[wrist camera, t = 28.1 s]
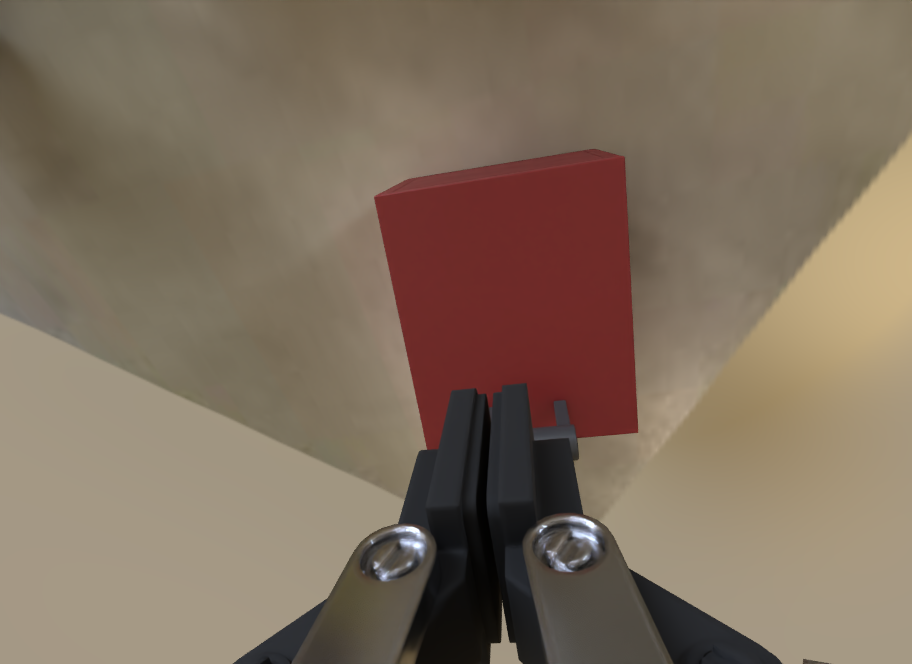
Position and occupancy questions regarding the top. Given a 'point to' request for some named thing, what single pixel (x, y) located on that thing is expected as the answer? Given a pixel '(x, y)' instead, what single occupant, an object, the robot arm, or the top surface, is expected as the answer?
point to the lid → (519, 295)
